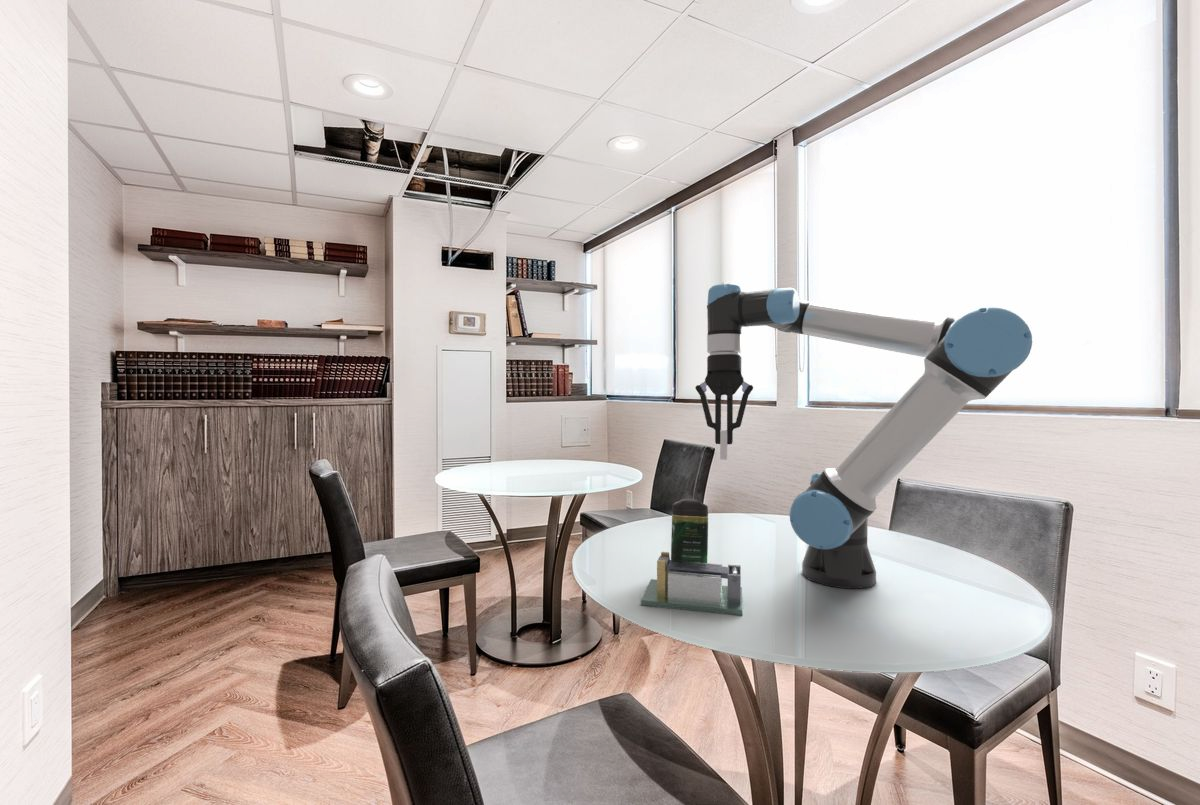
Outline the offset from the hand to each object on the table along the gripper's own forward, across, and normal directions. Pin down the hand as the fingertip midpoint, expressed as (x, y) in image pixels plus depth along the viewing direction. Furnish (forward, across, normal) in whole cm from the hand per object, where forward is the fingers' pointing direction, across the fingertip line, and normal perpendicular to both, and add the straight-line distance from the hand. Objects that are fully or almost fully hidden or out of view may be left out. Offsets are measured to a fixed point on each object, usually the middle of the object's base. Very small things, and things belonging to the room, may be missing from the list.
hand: (723, 458), depth 121 cm
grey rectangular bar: (+21, +6, +16) cm, 27 cm away
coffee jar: (+27, +7, +8) cm, 29 cm away
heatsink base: (+26, +5, +16) cm, 31 cm away
